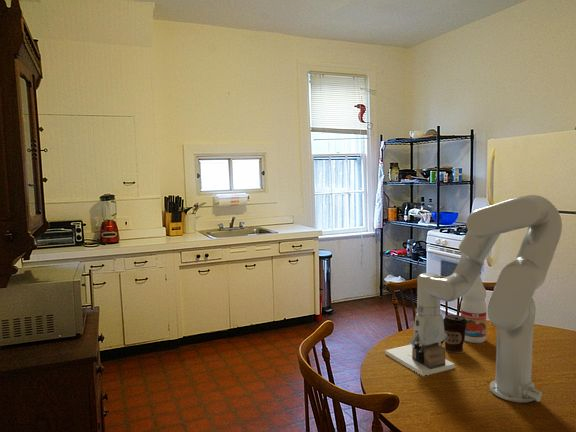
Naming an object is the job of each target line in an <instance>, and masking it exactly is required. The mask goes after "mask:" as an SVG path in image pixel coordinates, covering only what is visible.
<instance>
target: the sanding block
mask: <svg viewBox="0 0 576 432" xmlns="http://www.w3.org/2000/svg"><path fill="white" fill-rule="evenodd" d="M415 343H416V342H415ZM420 345H421V344H420ZM420 345H419V347H420ZM446 351H447V350H446V348H445V346H440V345H438V344H430V345H424V348H423V351H422V352H424V363H423V364H422V365H424V366H426V367H427V368H429V369H434V368H437V367H441V366H445V359H446ZM412 359H413V360H415V361H416V350H415V349H414V348H413V347H412ZM417 362H418V361H417ZM419 363H420V362H419ZM420 364H421V363H420Z"/></svg>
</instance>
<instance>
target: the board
mask: <svg viewBox="0 0 576 432" xmlns="http://www.w3.org/2000/svg"><path fill="white" fill-rule="evenodd" d="M384 354H385V356H388V357H389V358H391V359H393V360H394V361H396V362H398V363H399V364H401V365H403V366H405V368H407V369H409V368H410V370H411V371H413V372H414V371H415V373H416V372H417V373H416V374H417V375H419V374H420V375H419V376H421V375H422V376H421V377H426V376H425V375H427V376H430V374H431V375H434V374H437V373H441V372H445V371H449V370H452V369H453V370H454V369H455V368H456V367H455V363H454V362H452V361H449V360H448V359H447V358H445V366H441V367H437V368H434V369H429V368H427V367H426V366H424V365H422V364H420V363H419V362H417V361H415V360H413V359H412V345H411V344H406V345H403V346H399V347H394V348H389V349H385V350H384ZM433 373H434V374H433Z"/></svg>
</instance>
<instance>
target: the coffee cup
mask: <svg viewBox="0 0 576 432" xmlns="http://www.w3.org/2000/svg"><path fill="white" fill-rule="evenodd" d="M443 322H444V332H445V333H446V334H447V337H446V338H445V340H444V348H446V351H447V352H450V353H453V354H462V353H463V352H464V348H463V347H464V342H465V341H464V340H465V330H466V325H467V321H466V320H465V317H463V316H461V314H445V316H444V317H443Z"/></svg>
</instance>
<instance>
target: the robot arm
mask: <svg viewBox="0 0 576 432" xmlns="http://www.w3.org/2000/svg"><path fill="white" fill-rule="evenodd" d="M525 228H527V229H526V233H525V235H524V237H523V239H522V242H521V244H520V248H519V250H518V252H517V255H516V257H515V259H514V260H513V261H510V262H509V263H507V264H506V265H505V266H504V267H503V268H502V270H501V271H500V272H499V275H498V278H497V280H496V284H494V285H495V286H494V287H493V291H492V294H491V297H490V299H489V302H488V305H487V316H488V319H489V321H490V322H491V324H492V325H493V326H494V327H496V328H497V329H496V343H495V344H496V347H495V377H494V378H495V379H494V380H492V381H491V382H490V383H489V390H490V391H491V393H492V394H493V395H494V396H497V397H498V398H499V399H503V400H506V401H509V402H514V403H521V404H522V403H530V402H533V401H536V402H537V403H538V402H540V401H541V399H542V396H543V392H542V391H540V390H538V389H536V388H535V382H533V381H532V366H533V365H532V364H533V363H532V361H533V344H534V343H533V340H534V339H533V336H534V327H535V319H536V314H537V312H536V311H537V309H536V303H535V300H534V298H533V296H534V294H535V292H536V290H538V289H539V288H540V287H541V286H542V285H544V282H545V280H546V277H547V274H548V271H549V269H550V266H551V264H552V261H553V259H554V256H555V252H556V251H557V250H556V249H557V247H558V245H559V241H560V240H561V239H560V238H561V235H562V232H563V231H562V229H563V223H562V217H561V214H560V212H559V210H558V209H557V207H556V206H555V205H554V204H553V202H552V201H550V200H549V199H547V198H545V197H544V196H540V195H537V194H536V195H535V194H529V195H522V196H518V197H514V198H510V199H508V200H504V201H501V202H498V203H495V204H492V205H488V206H485V207H482V208H481V207H480V208H478V209H475V210H473V211H472V212H470V213H469V215H468V216H467V219H466V229H467V231H466V233H465V235H464V237H463V238H462V240H461V242H460V244H459V245H458V250H459V252H460V259H459V262H458V263H457V265H456V267H455V269H454V270H453V272H452V273H451V275H447V276H445V277H440V275H438V274H436V273H433V272H424V273H420V274H419V275H418V276H417V281H416V282H417V284H416V285H417V287H416V290H417V292H416V295H417V296H416V298H417V299H416V302H417V303H416V308H415V312H416V314H415V316H414V324H413V336H412V337H411V338H410V339H409V340H408V343H409V345H412V347H413V348H414V349H415V350H416V361H418V362H420V363H421V364H423V363H424V352H422V351H423V348H424V345H430V344H438V345H440V346H442V345H443V344H444V343H445V338H446V337H447V334H446V333H445V332H444V322H443V319H444V317H443V313H442V312H441V301H443V302H447V303H449V302H453V301H455V300H457V299H459V298H461V297H462V296H463V295H465V294H466V293H467V292H468V291H469V290H470V289H471V287H472V285H473V284H474V282H475V281H476V279H477V277H478V276H479V274H480V272H481V273H482V270H483V269H482V268H483V266H484V264H485V260H486V259H487V257H488V256H489V254H490V252H491V251H492V248H493V247H494V246H495V244H496V243H497V240H498V239H499V237H500V236H501V235H502V234H506V233H509V232H513V231H516V230H520V229H525ZM415 342H416V343H415ZM420 344H421V345H420ZM419 345H420V347H419ZM442 347H443V346H442Z"/></svg>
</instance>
